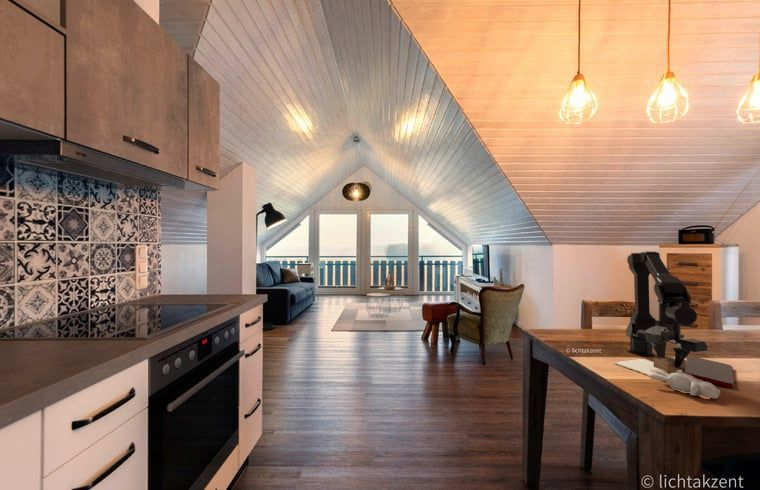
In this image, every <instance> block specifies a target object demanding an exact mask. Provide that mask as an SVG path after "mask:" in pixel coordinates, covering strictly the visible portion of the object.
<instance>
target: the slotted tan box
mask: <svg viewBox="0 0 760 490" xmlns="http://www.w3.org/2000/svg"><path fill="white" fill-rule="evenodd" d="M685 361H686V359H684V361H683V362H682V364H681V366H680V367H679V368H676V366H675V356H672V355H668V356H666V355H665V357H658V356H657V357H653V362H654V367H655V368H658V369H661V370H664V371H667V372H668V371H675V370H681V371H682V370H683V369H685V364H686V363H685Z"/></svg>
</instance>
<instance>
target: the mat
mask: <svg viewBox="0 0 760 490" xmlns="http://www.w3.org/2000/svg"><path fill="white" fill-rule="evenodd" d="M613 364H614V365H616V364H617V365H616V366H618V365H620V366H619V367H621V366H624V367H627V368H630V369H633V370H636V371H639V372H642V373H644V374H647V375H651V373H652V374H657V375H660V374H658V373H657V370H661V369H658V368H655V367H654V361H651V360H648V359H645V358H640V359H631V360H623V361H622V360H621V361H614V362H613ZM624 367H623V368H624ZM627 368H626V369H627ZM630 369H629V370H630ZM663 371H664V370H663ZM665 372H667V371H665ZM675 372H682V370H675V371H668V372H667V373H669V374H671V373H675ZM644 374H643V375H644ZM660 376H663V375H660ZM664 377H665V376H664Z"/></svg>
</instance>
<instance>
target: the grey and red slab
mask: <svg viewBox="0 0 760 490" xmlns="http://www.w3.org/2000/svg"><path fill="white" fill-rule="evenodd" d="M681 371H682V372H683V373H687V374H689V375H692V376H693V377H694V378H696V379H699V380H702V381H704V382H709V383H711V384H713V385H714V384H715V385H719V386H722V387H728V388H729V387H730V388H733V387H734V383H735V379H734V377H733V373H734V366H733V365H730V364H728V363H724V362H721V361H720V362H719V361H714V360H710V359H705V358H701V357H696V356H690V355H689V356H688V355H687V356H686V358H685V369H683V370H681Z"/></svg>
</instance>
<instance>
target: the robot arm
mask: <svg viewBox="0 0 760 490" xmlns="http://www.w3.org/2000/svg"><path fill="white" fill-rule="evenodd" d="M626 261H627V264H628V268H629V271H630V272H631V273H632V275H633V278H634V279H633V282H634V285H633V286H634V312H633V313H632V315H631V316H630V318H629V323H628V325H627V327H626V329H625V335H626V336H627V337H628V338H629V349H627V350H626V351H627V352H629V353H631V354H635V355H638V356H643V357H645V356H654V355H655V354H656V356H657V358H658V357H666V350H667V343H670V344H674V345H675V344H676V345H677V346H676V347H672V349H673V351H674V353H675V354H674V357H675V366H676V368H679V367H680V366H681V364H682V362H683V361H684V360H686V358H687V357H688V355H689V354H690V353H691V352H693V353H698V352H699V353H700V352H708V344H707V343H706V342H705V341H704V340H701V339H699V340H698V339H696V338H689V339H684V334H682V333H681V331H682V330H681V329H682V326H690V325H693V324H694V323H696V321H697V318H698V314H697V313H696V311H695V310H694V309H693V308H692V307H690V304H691V303H692V301H691V299H692V298H691V297H692V296H691V295H690V294H689V291H688V289H687V287H686V285H685V284H684V282H682V281H681V279H680V278H679V277H677V276H674V275H672V274H671V273H670V271H669V270H668V268H667V267H666V264H664V261H663V260H662V259H661V255H660V253H659V251H658V252H657V251H642V252H631V253H630V255H627V259H626ZM650 275H651V277H652V278H653V280H654V282H655V283H654V286H653V291H654V293H655V295H656V297H657V303H658V319H656V318H655V317H653V316H652V314H651V313H650V312H651V309H650V308H651V307H650ZM653 349H654V351H655V353H654V352H653Z"/></svg>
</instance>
